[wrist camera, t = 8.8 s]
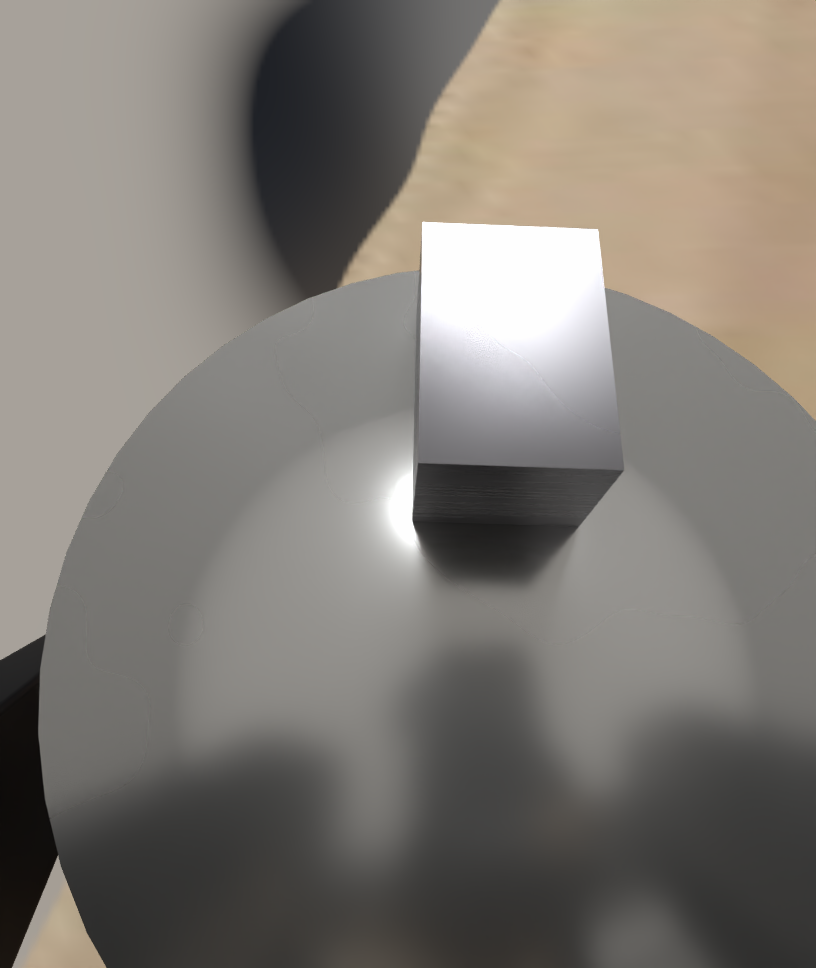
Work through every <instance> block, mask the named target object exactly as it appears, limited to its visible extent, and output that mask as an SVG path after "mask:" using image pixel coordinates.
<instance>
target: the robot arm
mask: <svg viewBox="0 0 816 968" xmlns="http://www.w3.org/2000/svg"><path fill="white" fill-rule="evenodd" d="M45 637H46V635H44V636H42V637H40V638H39V639H37V640H35V641H33V642H32V643H30V644H28V645H26V646H25V647H23V648H21V649H19V650H18V651H16V652H14V653H12V654H11V655H9V656H7V657H5V658H4V659H2V660H0V968H12V966H13V964H14V961H15V959H16V956H17V954H18V952H19V949H20V947H21V944H22V942H23V939H24V937H25V934H26V932H27V929H28V927H29V924H30V922H31V920H32V917H33V915H34V912H35V910H36V907H37V905H38V903H39V900H40V898H41V895H42V893H43V890H44V888H45V886H46V883H47V881H48V878H49V876H50V873H51V871H52V869H53V866H54V864H55V861H56V858H57V856H58V851H57V847H56V843H55V839H54V835H53V831H52V826H51V822H50V818H49V814H48V810H47V806H46V801H45V795H44V785H43V775H42V765H41V755H40V745H39V736H38V724H39V692H40V667H41V661H42V655H43V649H44V643H45Z"/></svg>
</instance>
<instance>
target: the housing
mask: <svg viewBox="0 0 816 968" xmlns="http://www.w3.org/2000/svg"><path fill="white" fill-rule="evenodd" d="M38 736H39V745H40V755H41V765H42V775H43V785H44V795H45V801H46V806H47V810H48V814H49V818H50V822H51V826H52V831H53V835H54V839H55V843H56V847H57V851H58V855H59V860H60V864H61V867H62V870H63V873H64V875H65V878H66V880H67V883H68V885H69V888H70V890H71V893H72V896H73V898H74V901H75V903H76V906H77V908H78V911H79V913H80V916H81V918H82V921H83V924H84V926H85V929H86V931H87V934H88V935H89V937H90V939H91V941H92V942H93V944H94V946H95V948H96V949H97V951H98V953H99V955H100V957H101V958H102V960H103V962H104V964H105V965H106V967H107V968H816V421H815V420H814V419H813V418H812V417H811V416H810V415H809V414H808V413H807V412H806V410H805V409H804V408H803V407H802V406H801V405H800V404H799V403H798V402H797V401H796V400H795V399H794V398H793V397H792V396H791V395H789V394H788V393H787V392H786V391H785V390H784V389H782V388H781V387H780V386H779V385H778V384H776V383H775V382H774V381H773V380H772V379H771V378H769V377H768V376H767V375H766V374H765V373H764V372H762V371H761V370H760V369H759V368H758V367H756V366H755V365H754V364H753V363H751V362H750V361H748V360H747V359H745V358H744V357H742V356H741V355H739V354H738V353H737V352H735V351H734V350H732V349H731V348H729V347H728V346H726V345H725V344H723V343H722V342H721V341H719V340H718V339H716V338H715V337H713V336H711V335H710V334H708V333H706V332H704V331H702V330H700V329H699V328H697V327H695V326H693V325H691V324H689V323H688V322H686V321H684V320H682V319H680V318H679V317H677V316H675V315H673V314H671V313H669V312H667V311H664V310H662V309H660V308H657V307H655V306H652V305H650V304H648V303H645V302H643V301H641V300H638V299H636V298H634V297H631V296H629V295H626V294H623V293H620V292H617V291H614V290H610V289H607V288H604V279H603V270H602V261H601V252H600V243H599V234H598V229H577V228H552V227H528V226H503V225H478V224H453V223H429V222H423V224H422V239H421V254H420V269H419V271H411V272H403V273H395V274H391V275H387V276H382V277H378V278H374V279H369V280H365V281H361V282H356V283H352V284H349V285H346V286H343V287H340V288H337V289H335V290H332V291H329V292H326V293H323V294H320V295H317V296H315V297H312V298H309V299H307V300H304V301H302V302H300V303H298V304H296V305H294V306H292V307H290V308H288V309H285V310H283V311H281V312H279V313H277V314H275V315H273V316H271V317H269V318H267V319H265V320H263V321H261V322H260V323H258V324H257V325H255V326H254V327H252V328H250V329H249V330H247V331H245V332H244V333H242V334H241V335H239V336H237V337H236V338H234V339H233V340H231V341H229V342H228V343H226V344H225V345H223V346H222V347H221V348H220V349H218V350H217V351H216V352H214V353H213V354H212V355H211V356H209V357H208V358H207V359H206V360H204V361H203V362H202V363H201V364H200V365H198V366H197V367H196V368H194V369H193V370H192V371H191V372H190V373H188V374H187V375H186V376H185V377H184V378H183V379H182V380H181V381H180V382H179V383H178V384H177V385H176V386H175V387H174V388H173V389H172V390H171V391H170V392H169V393H168V394H167V395H166V396H165V397H164V398H163V399H162V400H161V401H160V402H159V403H158V404H157V405H156V406H155V407H154V408H153V409H152V410H151V411H150V412H149V413H148V415H147V416H146V417H145V419H144V420H143V421H142V422H141V424H140V425H139V426H138V428H137V429H136V430H135V431H134V433H133V434H132V435H131V437H130V438H129V439H128V441H127V442H126V443H125V444H124V446H123V447H122V448H121V450H120V451H119V452H118V453H117V455H116V457H115V458H114V460H113V462H112V464H111V465H110V467H109V468H108V470H107V472H106V474H105V475H104V477H103V479H102V480H101V482H100V484H99V485H98V487H97V489H96V490H95V492H94V494H93V495H92V497H91V499H90V501H89V503H88V505H87V507H86V509H85V512H84V514H83V516H82V519H81V521H80V523H79V525H78V528H77V530H76V532H75V535H74V537H73V539H72V542H71V544H70V546H69V548H68V551H67V553H66V556H65V560H64V563H63V567H62V570H61V573H60V577H59V580H58V583H57V587H56V590H55V594H54V597H53V600H52V604H51V607H50V612H49V618H48V624H47V630H46V637H45V643H44V649H43V655H42V661H41V667H40V692H39V724H38Z"/></svg>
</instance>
